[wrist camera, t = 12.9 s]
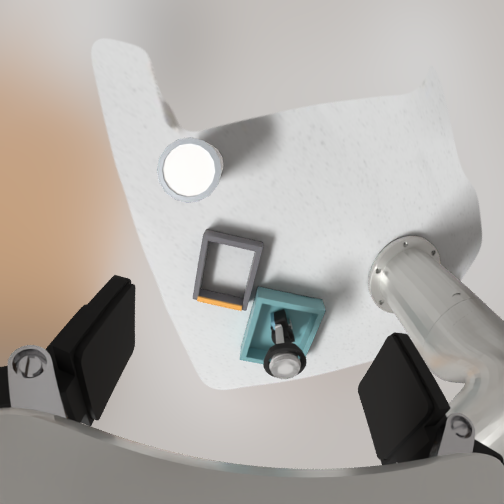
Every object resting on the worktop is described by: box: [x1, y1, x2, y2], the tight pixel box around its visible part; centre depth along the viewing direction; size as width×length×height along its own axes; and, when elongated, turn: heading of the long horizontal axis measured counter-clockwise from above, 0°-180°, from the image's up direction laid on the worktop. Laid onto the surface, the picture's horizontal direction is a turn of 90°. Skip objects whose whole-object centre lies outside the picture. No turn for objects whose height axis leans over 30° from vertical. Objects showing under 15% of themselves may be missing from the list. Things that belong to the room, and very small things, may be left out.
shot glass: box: [157, 137, 224, 203], centre depth 32 cm, size 7×7×7 cm
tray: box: [240, 286, 326, 364], centre depth 42 cm, size 10×12×3 cm
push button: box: [263, 309, 306, 379], centre depth 38 cm, size 7×5×10 cm
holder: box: [193, 230, 263, 311], centre depth 39 cm, size 8×10×2 cm
